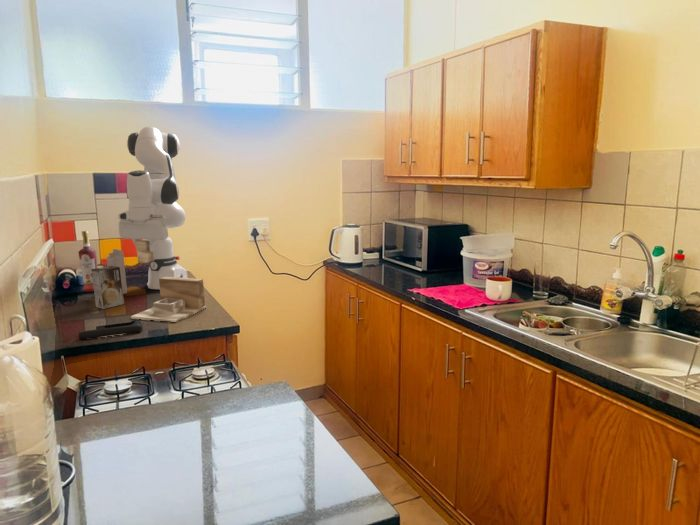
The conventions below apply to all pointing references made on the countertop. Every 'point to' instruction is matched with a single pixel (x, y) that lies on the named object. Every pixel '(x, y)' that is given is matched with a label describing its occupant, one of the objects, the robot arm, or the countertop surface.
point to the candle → (118, 265)
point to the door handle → (112, 330)
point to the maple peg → (144, 251)
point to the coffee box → (107, 287)
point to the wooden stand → (176, 300)
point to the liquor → (87, 262)
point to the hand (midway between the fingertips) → (145, 250)
